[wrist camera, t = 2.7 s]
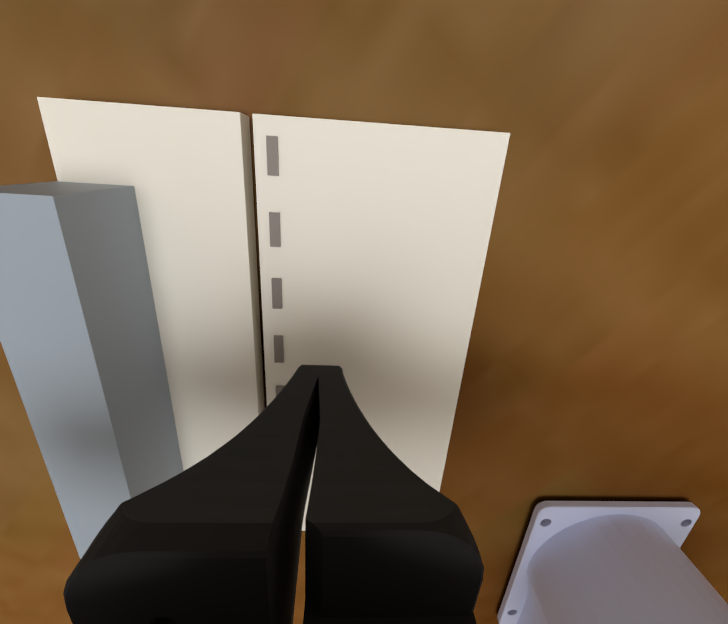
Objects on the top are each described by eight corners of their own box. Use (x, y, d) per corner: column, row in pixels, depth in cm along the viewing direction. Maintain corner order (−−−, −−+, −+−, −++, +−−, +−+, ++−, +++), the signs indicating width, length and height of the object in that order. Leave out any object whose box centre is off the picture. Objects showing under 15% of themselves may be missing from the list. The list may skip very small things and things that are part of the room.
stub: (270, 511, 16) (248, 613, 13) (157, 511, 16) (100, 615, 12) (249, 116, 10) (195, 92, 7) (65, 102, 10) (-99, 69, 6)
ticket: (427, 510, 17) (432, 532, 16) (277, 510, 17) (272, 532, 16) (496, 135, 11) (511, 132, 10) (260, 117, 10) (251, 113, 9)
